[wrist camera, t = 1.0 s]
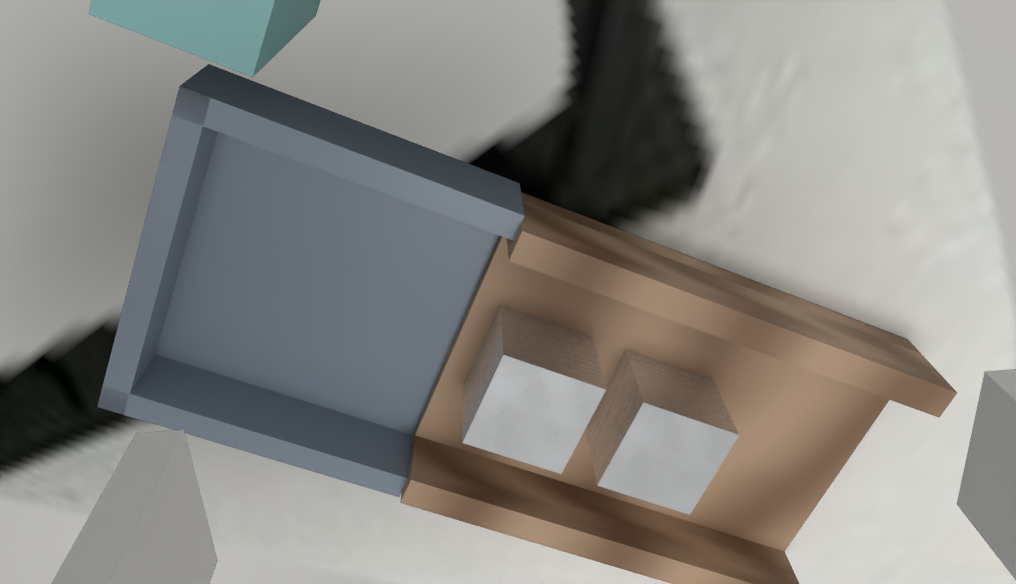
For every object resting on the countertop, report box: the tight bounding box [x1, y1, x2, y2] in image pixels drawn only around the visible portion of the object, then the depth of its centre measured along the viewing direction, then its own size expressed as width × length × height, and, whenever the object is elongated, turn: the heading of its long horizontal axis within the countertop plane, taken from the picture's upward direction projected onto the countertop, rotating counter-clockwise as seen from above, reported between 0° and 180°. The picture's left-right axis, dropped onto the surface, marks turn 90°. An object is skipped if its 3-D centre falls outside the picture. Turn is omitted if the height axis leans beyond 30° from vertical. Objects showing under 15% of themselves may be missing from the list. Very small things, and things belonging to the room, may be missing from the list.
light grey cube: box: [586, 349, 739, 515], centre depth 35 cm, size 4×4×4 cm
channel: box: [401, 192, 957, 584], centre depth 36 cm, size 18×12×4 cm
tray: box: [97, 64, 525, 497], centre depth 34 cm, size 12×13×4 cm
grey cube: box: [462, 304, 606, 474], centre depth 34 cm, size 4×4×4 cm
